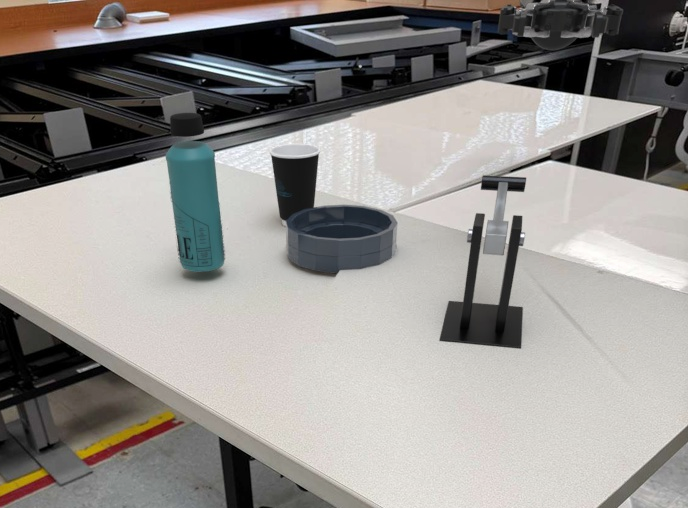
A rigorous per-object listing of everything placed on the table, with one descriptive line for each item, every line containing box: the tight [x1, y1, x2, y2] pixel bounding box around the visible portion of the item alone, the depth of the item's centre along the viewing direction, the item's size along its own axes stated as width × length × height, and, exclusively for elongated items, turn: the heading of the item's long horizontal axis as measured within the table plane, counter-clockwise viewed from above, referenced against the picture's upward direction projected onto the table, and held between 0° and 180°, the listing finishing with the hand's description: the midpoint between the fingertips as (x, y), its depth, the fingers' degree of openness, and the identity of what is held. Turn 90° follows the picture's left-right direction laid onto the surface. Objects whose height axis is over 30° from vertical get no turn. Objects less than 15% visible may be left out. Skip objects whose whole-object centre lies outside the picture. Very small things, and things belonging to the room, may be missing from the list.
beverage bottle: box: [165, 112, 226, 273], centre depth 94 cm, size 6×7×20 cm
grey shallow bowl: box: [285, 204, 398, 274], centre depth 103 cm, size 16×16×5 cm
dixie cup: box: [268, 143, 322, 228], centre depth 113 cm, size 8×8×11 cm
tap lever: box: [480, 174, 527, 256], centre depth 81 cm, size 13×5×2 cm, turn 166°
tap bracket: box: [439, 212, 526, 349], centre depth 81 cm, size 11×9×13 cm
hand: (559, 26), depth 83 cm, fingers open, 8 cm apart
